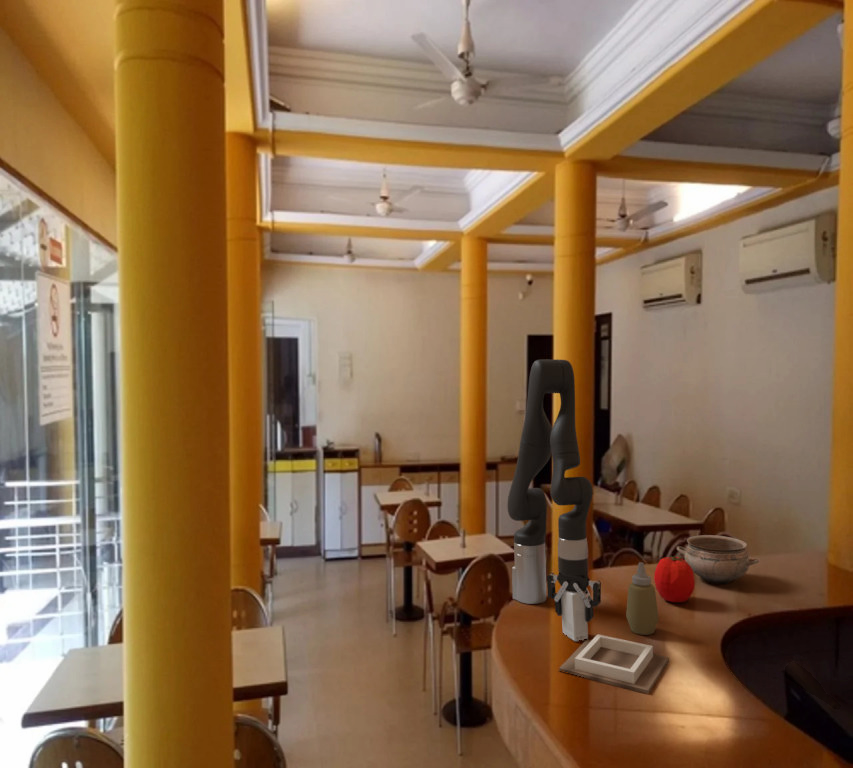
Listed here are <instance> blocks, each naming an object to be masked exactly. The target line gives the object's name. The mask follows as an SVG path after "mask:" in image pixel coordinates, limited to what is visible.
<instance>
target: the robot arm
mask: <svg viewBox="0 0 853 768" xmlns="http://www.w3.org/2000/svg"><path fill="white" fill-rule="evenodd" d="M528 379H529V380H528V388H527V389H528V391H527V400H526V401H527V403H526V411H525V417H524V422H523V427H522V432H521V437H520V442H519V446H518V447H519V448H518V454H517V455H518V456H517V462H516V465H515V472H514V474H513V478H512V482H511V485H510V489H509V493H508V497H507V513H508V515H509V518H511V520H513V521H517V522H519V521H520V522H521V521H528V522H527V523H526V524H525V525H524V526H522V527H521V528H519V529H517V530H515V531H514V534H513V542H514V543H513V548H514V549H513V550H514V551H513V553H514V566H512V568H511V575H512V576H511V579H512V580H511V582H512V586H511V587H512V599H513V600H516V601H518V602H520V603H522V604H528V605H530V604H531V605H534V604H535V605H536V604H537V605H538V604H541V603H545V601H546V600H547V597H548V598H549V599H552V600H553V601H554V609H555V613H556V615H557V616H558V617H562V610H561V596H562V595H563V593H564V591H573V592H578V594H579V596H580V598H581V599H582V600H583V601H584V603H585V605H586V606H587V607H586V608H585V610H586V622H587V623H590V622H591V621H592V620H593V618H594V607H598V606H599V605H601V601H602V582H601V581H600V580H596V581H594V580H590V577H589V549H588V548H589V547H588V540H587V520H588V515H589V510H590V507H591V503H592V499H593V494H594V491H593V485H592V483H591V481H590V480H589V479H588V478H587V477H585V476H568V477H566V476H565V475H566V471H569V470H572V469H575V468H577V467H579V466H580V464H581V455H580V449H579V444H578V437H577V431H576V430H577V428H576V389H575V388H576V385H575V383H576V382H575V373H574V368H573V365H572V363H571V362H570V361H569V360H567V359H544V358H543V359H537V360H535V361H534V362H533V363H532V365H531V368H530V371H529V378H528ZM545 394H559V397H560V407H559V411H558V414H557V417H556V419H555V421H554V423H553V426H552V424H551V423H550V420H549V419H548V416H547V415H546V411H545V410H544V396H545ZM551 458H552V475H551V482H550V497H551V499H552V501H553V502H554V503H555V505H557V506H573V508H572V509H571V510H570V511H568V512H565V513H562V514H560V515H559V516H558V524H557V525H558V526H557V527H558V541H557V563H558V565H557V571H558V574H555V573H554V572H551V573H549V574H548V575H547V573H546V572H547V569H546V567H547V566H546V563H547V562H546V535H547V521H548V520H547V518H548V516H547V515H548V502H547V496H546V494H545V492H544V491H543V490H542V488H539V487H531V488H529V487H530V485H531V483H532V481H533V480H534V479H535V478H536V476H537V475H538V474H539V472H541V471H542V469H543V468H544V467H545V466H546V464H547V463H548V462H549V460H550V459H551ZM556 582H558V583H559V585H560V588H559V590H558V591H557V592H556ZM589 586H590V589H591V591H592V596H591V593H590V591H589V589H588V587H589ZM583 592H585V593H586V595H585V594H584V593H583Z"/></svg>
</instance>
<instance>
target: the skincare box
mask: <svg viewBox="0 0 853 768" xmlns="http://www.w3.org/2000/svg"><path fill="white" fill-rule="evenodd" d="M583 593H584V594H585V595H586V593H585V592H583ZM586 607H587V606H586V605H585V603H584V601H583V600H582V599H581V598H580V596H579V594H578V592H573V591H564V593H563V595H562V596H561V610H562V615H561V623H562V625H561V626H562V627H561V628H562V634H563V633H564V634H563V635H565V636H566V635H567V636H566V637H568V638H569V639H570V640H572V641H574V642H580V641H579V640H582V641H585V640H584V639H587V640H589V627H588V622H586V610H585V608H586Z"/></svg>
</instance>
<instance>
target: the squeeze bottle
mask: <svg viewBox="0 0 853 768" xmlns="http://www.w3.org/2000/svg"><path fill="white" fill-rule="evenodd" d="M631 579H632V580H631V583H630V584H629V585H628V590H627V600H626V601H627V602H626V612H625V613H626V614H625V616H626V619H627V622H628V625H629V628H630V631H631V632H632V633H634V634H637V635H645V636H647V635H652V634H654V633H655V631H656V628H657V625H658V621H659V620H660V619H659V618H660V617H659V611H658V603H657V594H656V586H654V585H653V584H652V577H651V576H650V575H647V571H646V568H645V563H644V562H641V561H640V562H638V565H637V570H636V573H635V574H633V575H632V576H631Z"/></svg>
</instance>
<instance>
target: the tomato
mask: <svg viewBox="0 0 853 768" xmlns="http://www.w3.org/2000/svg"><path fill="white" fill-rule="evenodd" d="M694 574H695V573H694V572H693V570H692V568H691V566H690V565H689V564H688V563H687V562H686V561H685V558H682V557H679V556H675V555H674V556H672V555H669V557H668V556H667V557H662V558H660V560H659V561H658V563H657V565H656V567H655V571H654V576H653V581H654V584H655V590H656V591H657V593H658V594H659V596H660V597H661V598H662V599H663V600H665V601H668V602H671V603H684V602H686V601H688V599H690V598H691V596H692V595H693V592H694V590H695V585H696V584H695V583H696V581H695V575H694Z"/></svg>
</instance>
